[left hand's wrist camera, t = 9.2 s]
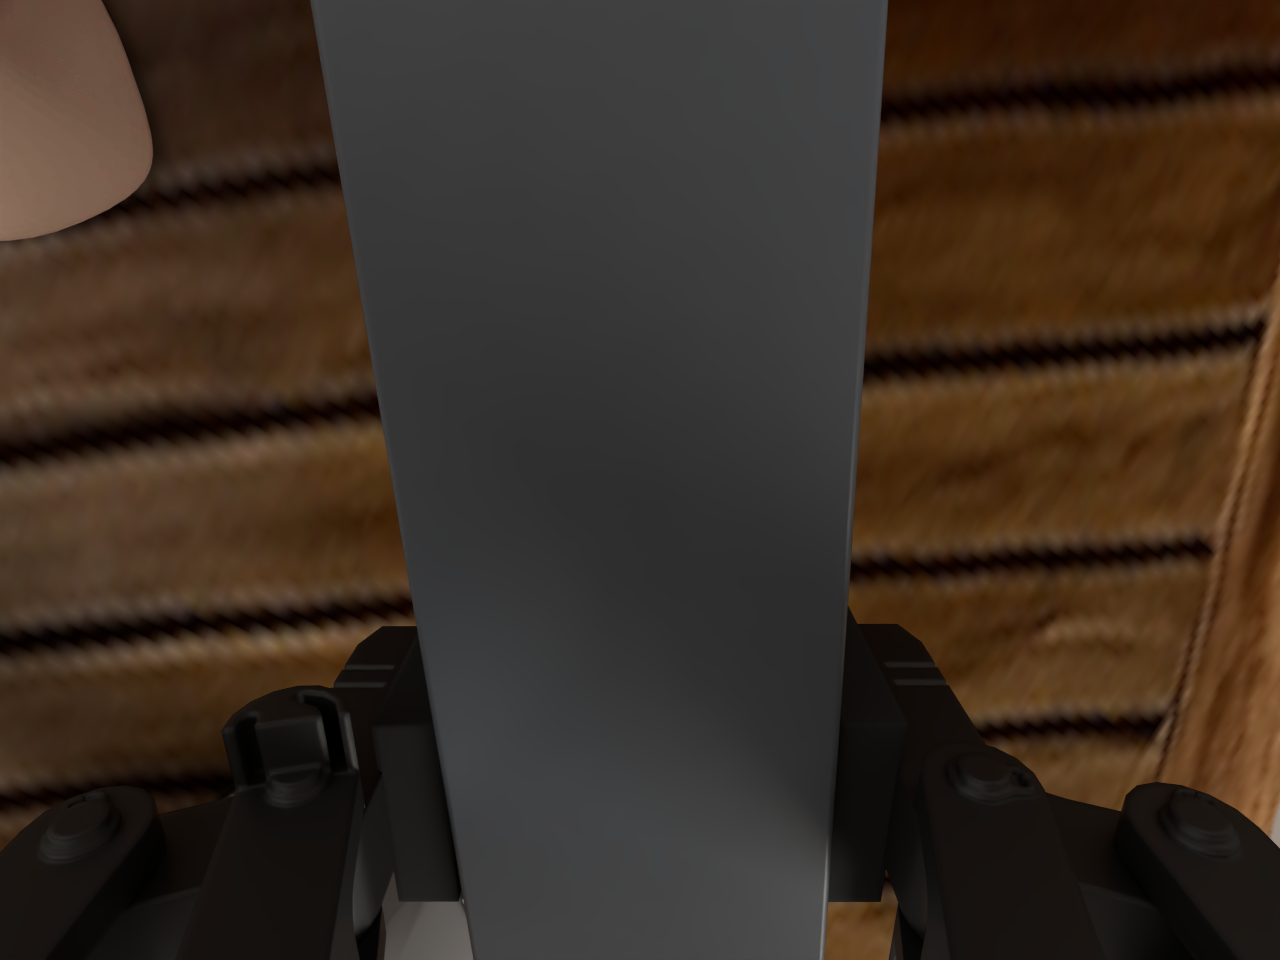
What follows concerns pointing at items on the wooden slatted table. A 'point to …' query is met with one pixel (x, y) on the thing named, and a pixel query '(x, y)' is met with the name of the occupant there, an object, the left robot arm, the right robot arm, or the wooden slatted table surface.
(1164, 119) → the wooden slatted table surface
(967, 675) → the wooden slatted table surface
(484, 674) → the post
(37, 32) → the anatomical model
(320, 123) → the wooden slatted table surface
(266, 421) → the wooden slatted table surface
